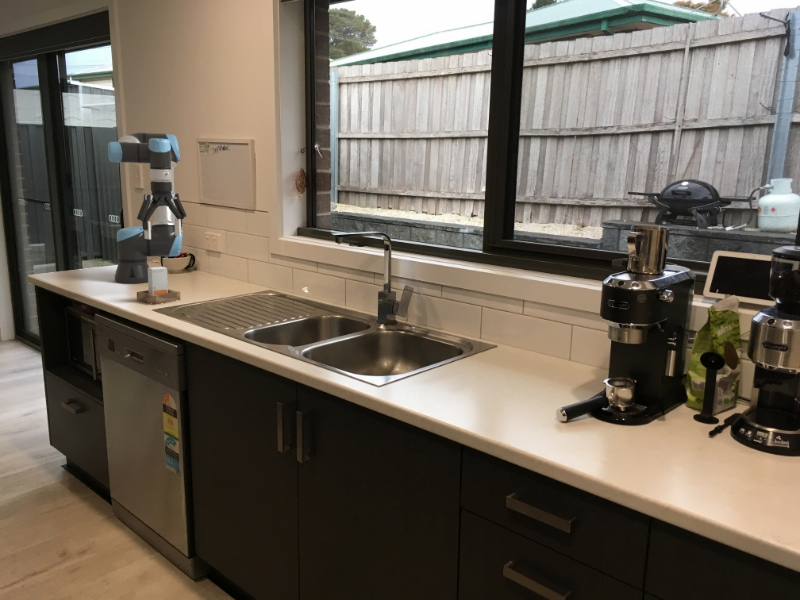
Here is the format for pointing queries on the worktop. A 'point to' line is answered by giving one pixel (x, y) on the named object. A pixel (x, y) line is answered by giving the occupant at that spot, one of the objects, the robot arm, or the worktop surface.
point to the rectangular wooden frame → (158, 297)
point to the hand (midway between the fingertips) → (163, 237)
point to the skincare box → (157, 280)
